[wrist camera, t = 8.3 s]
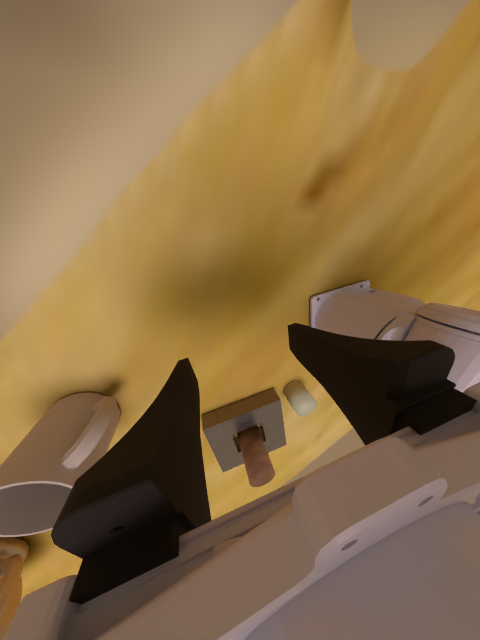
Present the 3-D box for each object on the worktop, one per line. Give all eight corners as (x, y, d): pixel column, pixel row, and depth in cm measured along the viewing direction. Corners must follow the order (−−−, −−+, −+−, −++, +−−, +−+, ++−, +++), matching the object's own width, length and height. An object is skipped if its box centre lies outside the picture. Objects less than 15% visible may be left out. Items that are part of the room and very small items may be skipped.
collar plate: (273, 387, 28) (280, 399, 26) (280, 431, 34) (286, 444, 31) (201, 414, 27) (202, 430, 24) (220, 456, 32) (223, 472, 30)
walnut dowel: (250, 412, 29) (270, 465, 22) (257, 423, 31) (278, 476, 24) (231, 423, 29) (245, 480, 22) (240, 433, 31) (255, 490, 24)
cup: (35, 420, 20) (-64, 533, 12) (94, 364, 19) (29, 445, 12) (97, 440, 23) (50, 539, 16) (149, 393, 23) (128, 471, 15)
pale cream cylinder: (301, 377, 29) (317, 395, 26) (302, 392, 31) (317, 411, 27) (282, 384, 29) (295, 404, 25) (284, 399, 30) (296, 419, 27)
